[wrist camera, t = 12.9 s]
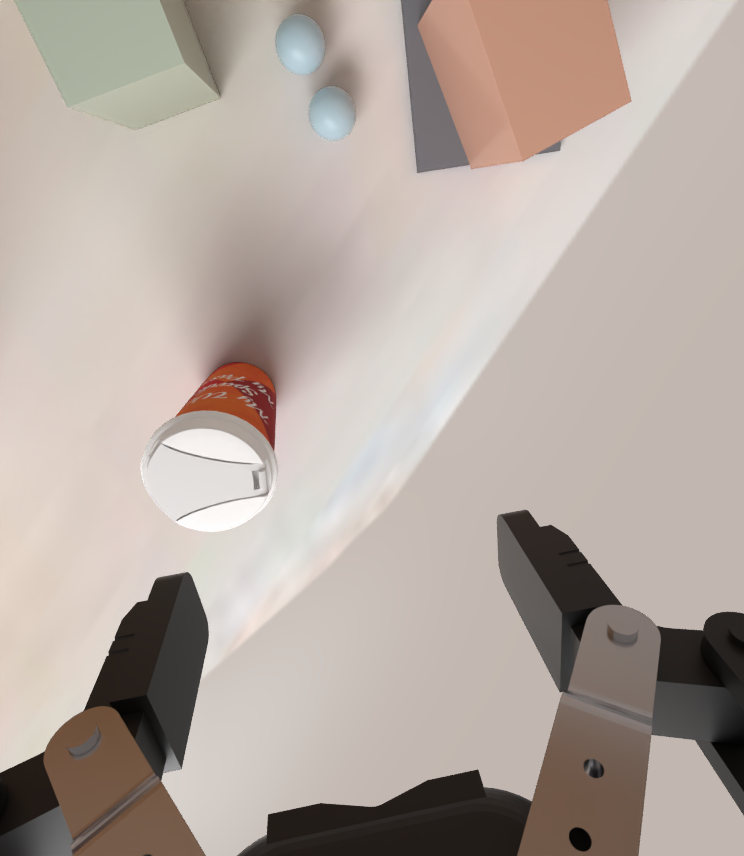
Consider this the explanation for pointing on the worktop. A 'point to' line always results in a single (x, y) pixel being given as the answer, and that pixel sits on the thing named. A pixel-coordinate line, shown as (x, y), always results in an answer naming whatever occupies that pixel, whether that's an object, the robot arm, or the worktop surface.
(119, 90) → the sage green block
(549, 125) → the salmon orange block
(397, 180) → the worktop surface
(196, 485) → the paper cup
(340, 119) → the marble
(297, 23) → the marble
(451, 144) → the felt coaster
